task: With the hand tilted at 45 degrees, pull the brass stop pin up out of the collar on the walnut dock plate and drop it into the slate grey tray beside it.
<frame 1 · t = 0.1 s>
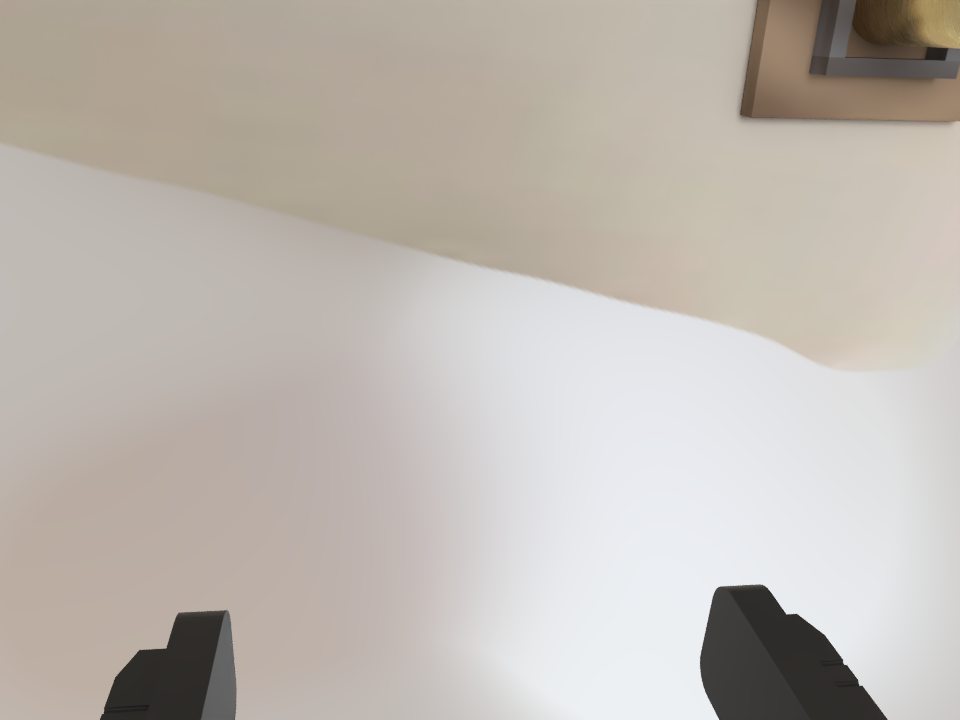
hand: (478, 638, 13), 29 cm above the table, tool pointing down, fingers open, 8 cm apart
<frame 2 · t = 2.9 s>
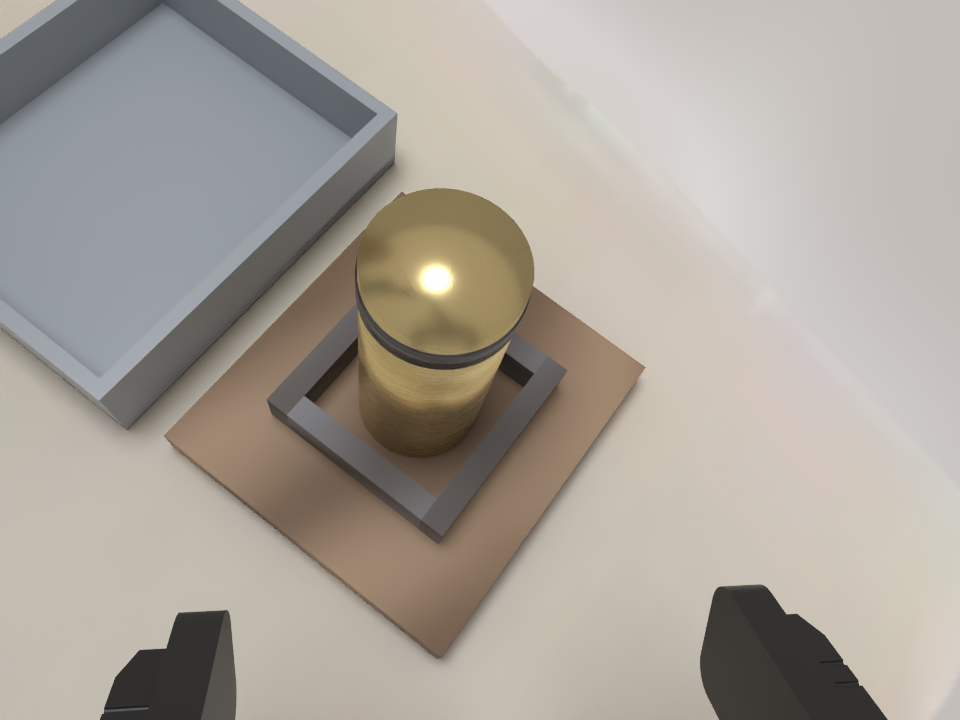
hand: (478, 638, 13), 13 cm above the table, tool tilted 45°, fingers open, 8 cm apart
pin dock: (416, 410, 28), on the table
tray: (148, 190, 29), on the table
stop pin: (419, 399, 27), point 1 cm above the table, touching pin dock
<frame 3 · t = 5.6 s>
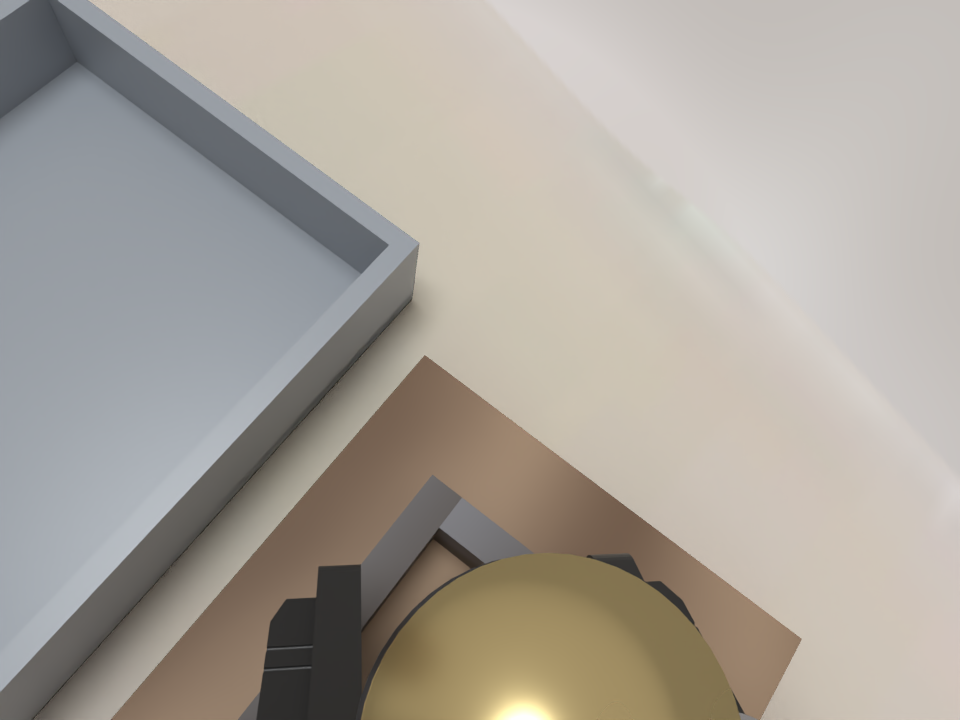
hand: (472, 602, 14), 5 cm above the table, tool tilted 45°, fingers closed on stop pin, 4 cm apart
pin dock: (449, 712, 18), on the table
tray: (42, 352, 20), on the table
stop pin: (455, 714, 17), point 1 cm above the table, touching gripper, pin dock
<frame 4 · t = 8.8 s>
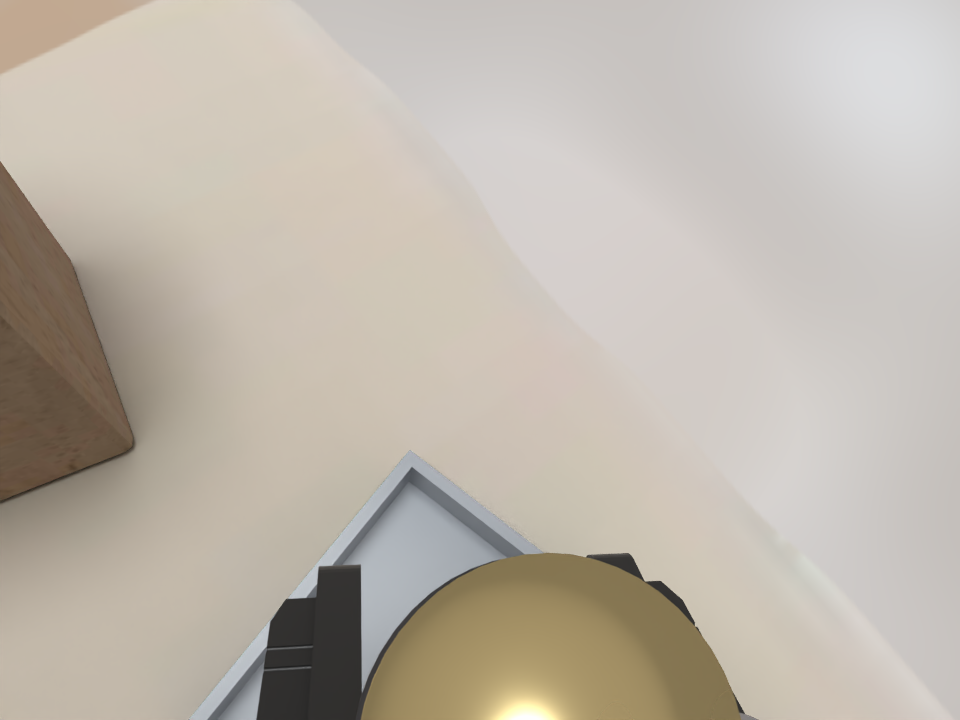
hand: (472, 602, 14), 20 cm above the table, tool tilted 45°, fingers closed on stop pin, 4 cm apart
tray: (415, 696, 31), on the table
stop pin: (455, 714, 17), point 16 cm above the table, touching gripper
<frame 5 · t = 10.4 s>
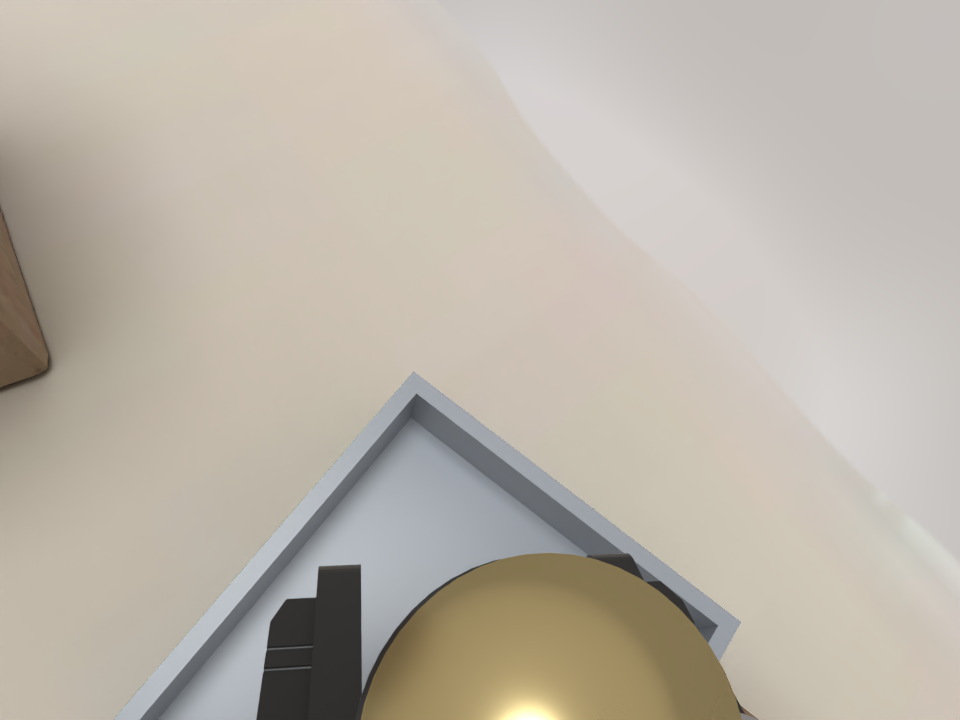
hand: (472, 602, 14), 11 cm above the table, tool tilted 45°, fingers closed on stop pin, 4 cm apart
tray: (418, 696, 24), on the table
stop pin: (455, 714, 17), point 8 cm above the table, touching gripper
when the fingers open (6 cm above the table, at t = 11.8 s): stop pin drops 2 cm, resting on tray.
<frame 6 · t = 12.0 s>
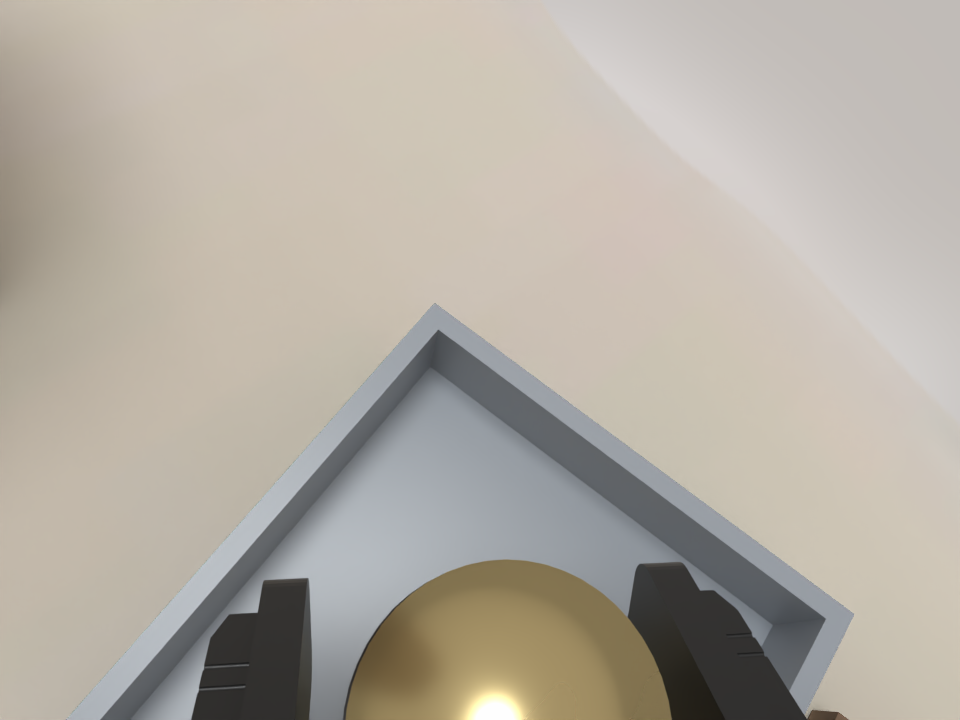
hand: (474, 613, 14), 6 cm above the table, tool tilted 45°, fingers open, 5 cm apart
tray: (443, 710, 19), on the table
stop pin: (449, 715, 18), point 1 cm above the table, touching tray
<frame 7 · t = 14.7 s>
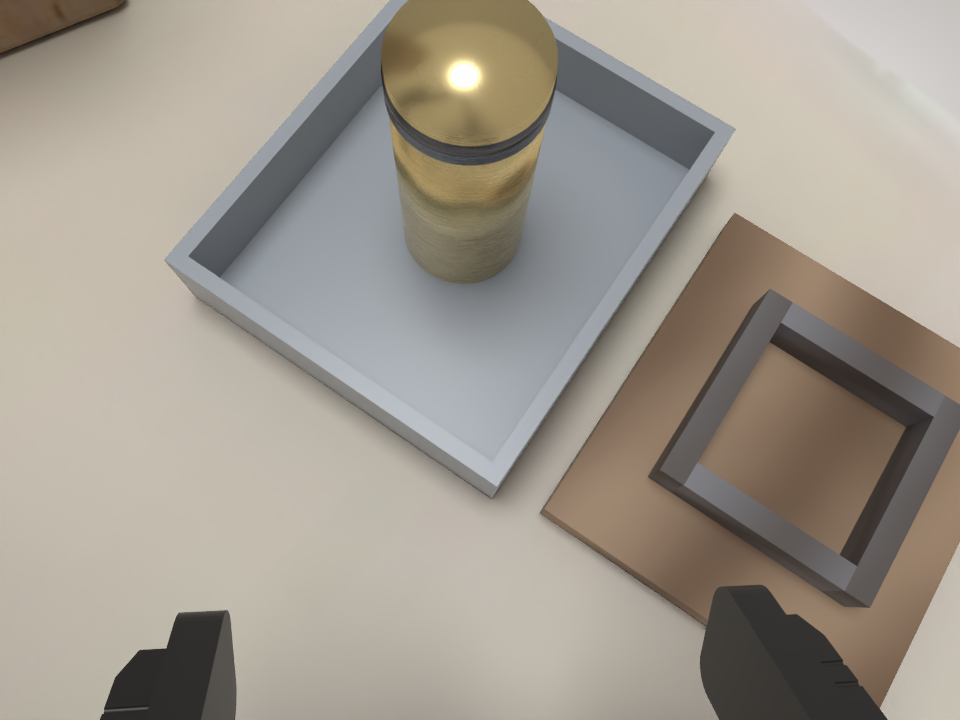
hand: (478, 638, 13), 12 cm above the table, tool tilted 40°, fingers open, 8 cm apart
pin dock: (780, 454, 26), on the table
tray: (460, 233, 28), on the table
stop pin: (463, 228, 27), point 1 cm above the table, touching tray
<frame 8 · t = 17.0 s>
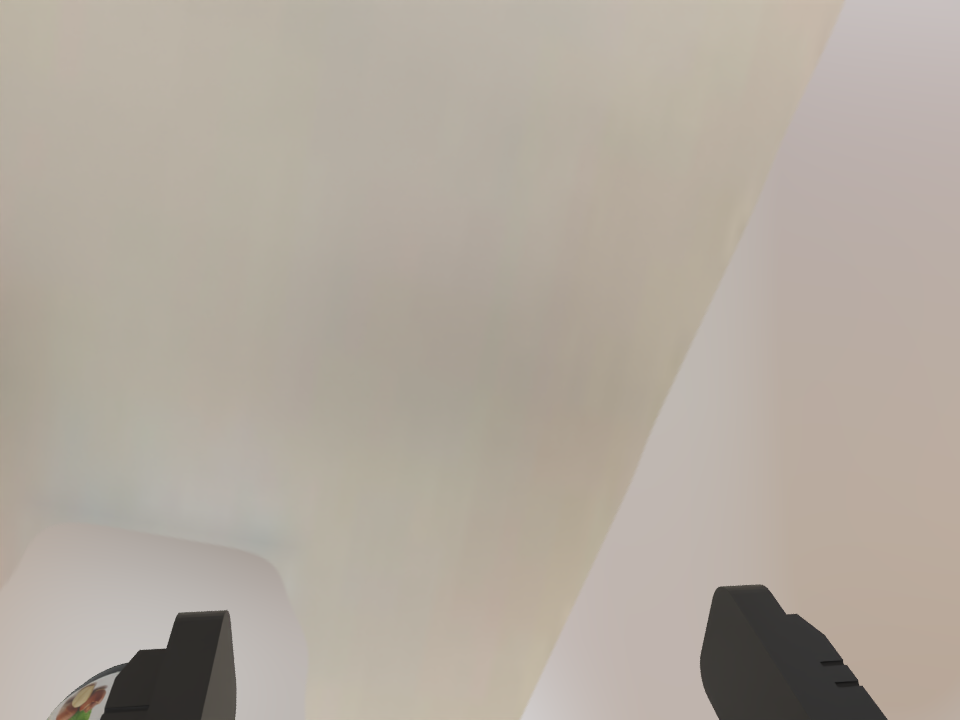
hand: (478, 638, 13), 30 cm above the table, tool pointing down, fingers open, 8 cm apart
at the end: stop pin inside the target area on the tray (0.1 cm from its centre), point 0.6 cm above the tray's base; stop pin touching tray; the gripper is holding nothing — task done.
